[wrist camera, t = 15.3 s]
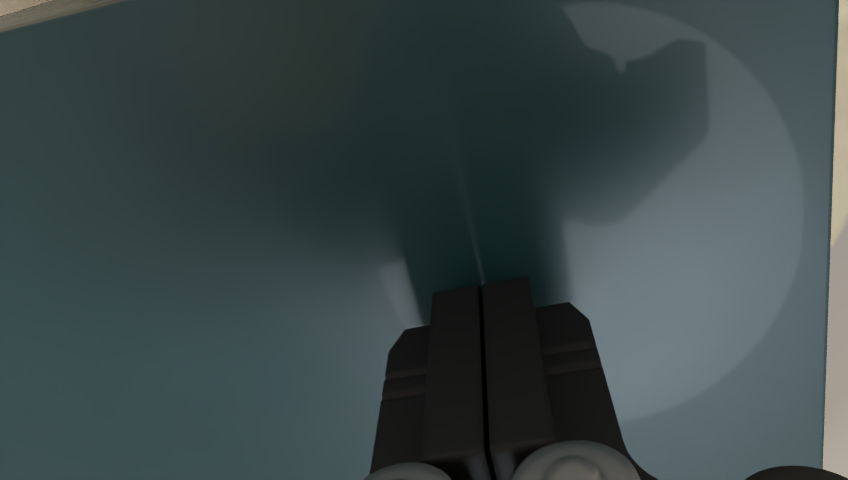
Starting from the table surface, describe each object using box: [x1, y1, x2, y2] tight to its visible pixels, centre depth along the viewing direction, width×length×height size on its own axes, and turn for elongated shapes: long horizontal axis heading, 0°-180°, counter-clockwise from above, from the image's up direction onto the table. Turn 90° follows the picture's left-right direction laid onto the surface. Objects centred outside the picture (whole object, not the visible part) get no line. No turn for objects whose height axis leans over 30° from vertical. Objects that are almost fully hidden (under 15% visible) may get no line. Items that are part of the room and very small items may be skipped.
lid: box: [0, 0, 839, 480], centre depth 12 cm, size 16×12×1 cm
